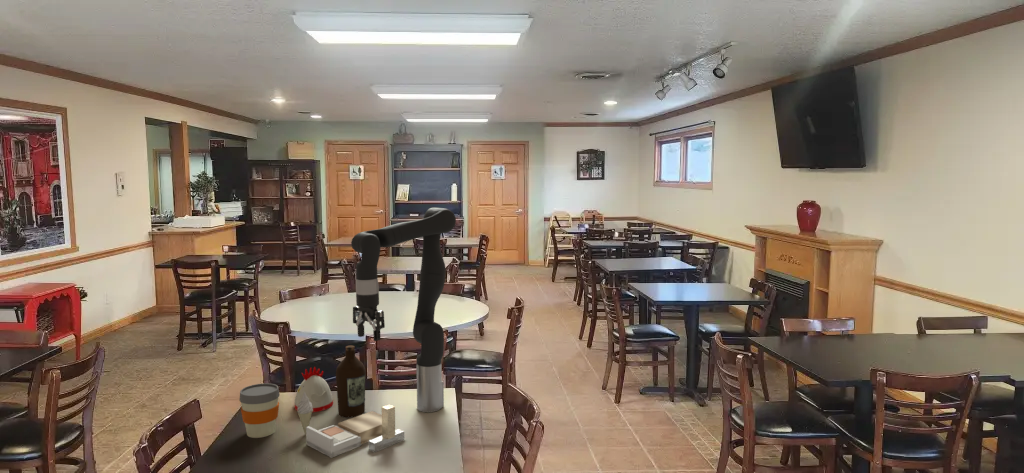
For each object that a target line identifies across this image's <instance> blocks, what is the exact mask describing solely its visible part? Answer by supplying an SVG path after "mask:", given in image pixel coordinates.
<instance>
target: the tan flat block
mask: <svg viewBox="0 0 1024 473" xmlns="http://www.w3.org/2000/svg"><path fill="white" fill-rule="evenodd" d="M337 426H338V427H340V428H343V429H345V430H347V431H349V432H351V433H353V434H355V435H357V436H360V437H361V445H363V444H365V443H369V440H372V439H374V438H377V437H379V436H382V413H378V412H375V411H373V410H371V411H368V412H366V413H365V412H364V413H363V414H362V415H360V416H357V417H350V418H348V419H345V420H344V421H340V422H337Z"/></svg>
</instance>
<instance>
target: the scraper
mask: <svg viewBox="0 0 1024 473" xmlns="http://www.w3.org/2000/svg"><path fill="white" fill-rule="evenodd" d="M381 415H382V436H379V437H377V438H374V439H372V440H369V441H368V450H369V451H371V452H373V453H377V452H379V451H381V449H382V450H384V449H386V448H389V447H391V446H393V445H396V444H398V443H401V442H404V441H405V430H402V429H400V428H397V429H396V407H395V406H394V405H392V404H387V405H384V406H381Z"/></svg>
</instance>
